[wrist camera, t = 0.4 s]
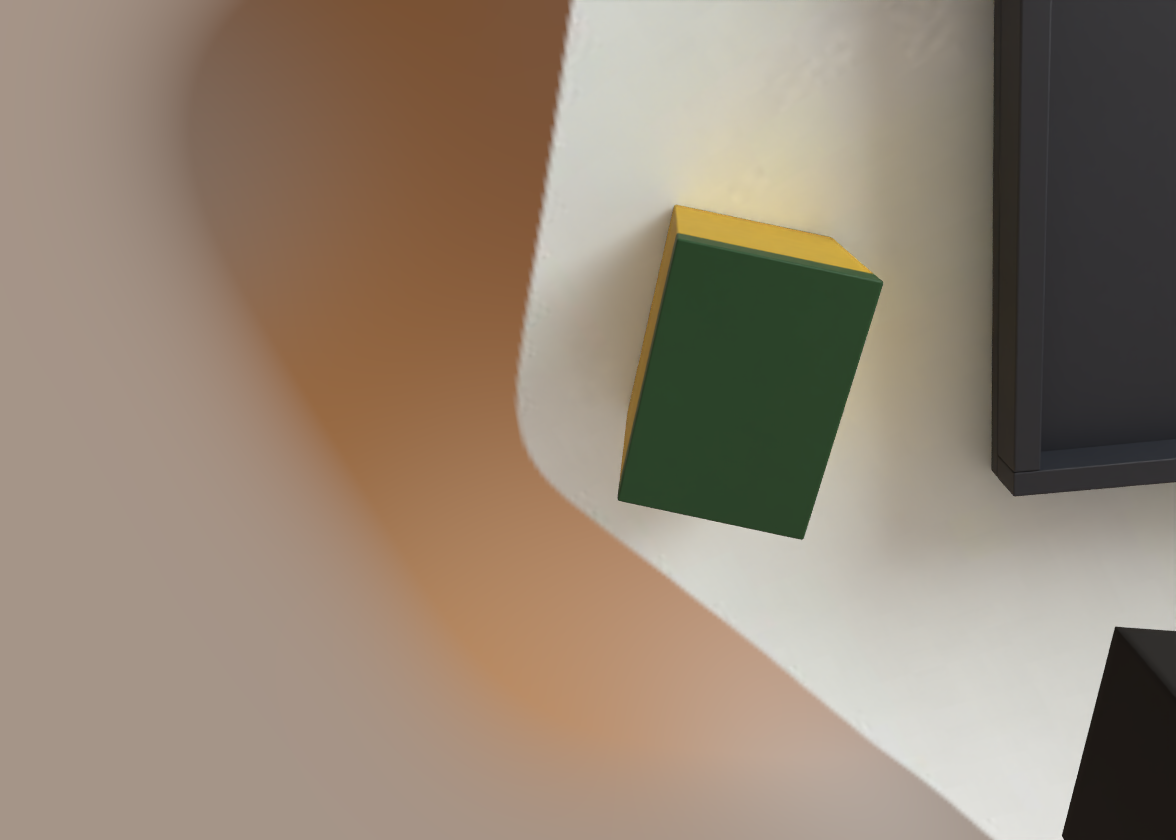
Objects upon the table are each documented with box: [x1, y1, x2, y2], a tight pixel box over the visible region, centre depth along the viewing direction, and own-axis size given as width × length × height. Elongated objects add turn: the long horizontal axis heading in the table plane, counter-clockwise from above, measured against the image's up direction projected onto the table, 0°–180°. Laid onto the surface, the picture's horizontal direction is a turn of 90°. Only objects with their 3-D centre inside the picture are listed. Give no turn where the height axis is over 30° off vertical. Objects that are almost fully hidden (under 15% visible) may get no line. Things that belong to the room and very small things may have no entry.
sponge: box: [618, 205, 883, 540], centre depth 26 cm, size 7×5×7 cm
